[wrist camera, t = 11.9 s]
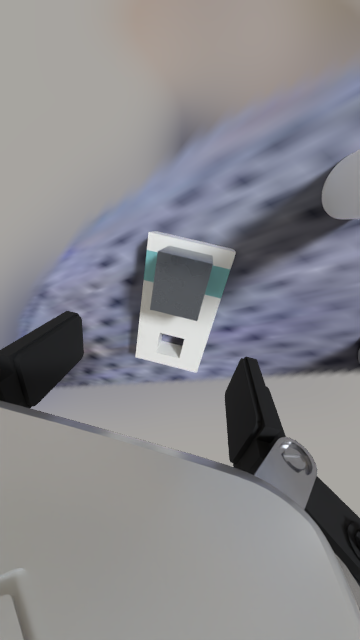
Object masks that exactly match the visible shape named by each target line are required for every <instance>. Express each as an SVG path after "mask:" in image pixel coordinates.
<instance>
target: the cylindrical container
mask: <svg viewBox="0 0 360 640" xmlns="http://www.w3.org/2000/svg"><path fill="white" fill-rule="evenodd" d="M322 205H323V208H324V210H325V211H326V213H327V214H328V215H330V216H331V217H333V218H335V219H341V220H342V219H360V150H358V151H356V152H354V153H352V154H350V155H348V156H347V157H345V158H344V159H343V160H341V161H340V162H339V163H338V164H337V165H336V166H335V167H334V168H333V170H332V171H331V172H330V174H329V176H328V177H327V179H326V181H325V184H324V186H323V190H322Z"/></svg>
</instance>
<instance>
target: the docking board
mask: <svg viewBox="0 0 360 640" xmlns="http://www.w3.org/2000/svg"><path fill="white" fill-rule="evenodd" d="M167 246H173V247H177V248H182V249H186V250H190V251H195V252H199V253H203V254H207V255H212V256H213V266H212V270H211V274H210V277H209V281H208V284H207V288H206V291H205V295H204V299H203V302H202V306H201V309H200V313H199V316H198V320H197V321H194V320H190V319H186V318H182V317H178V316H174V315H170V314H166V313H162V312H158V311H154V310H150V306H151V298H152V291H153V283H154V276H155V269H156V261H157V254H158V251H159V250H161V249H163V248H165V247H167ZM235 254H236V252H235V251H234V250H233V249H231V248H227V247H222V246H218V245H214V244H209V243H205V242H201V241H196V240H192V239H188V238H183V237H179V236H175V235H170V234H166V233H162V232H157V231H154V232H149V234H148V244H147V253H146V262H145V272H144V281H143V291H142V300H141V309H140V319H139V328H138V337H137V347H136V356H135V357H137V358H141V359H145V360H149V361H153V362H157V363H161V364H165V365H168V366H172V367H176V368H180V369H184V370H188V371H192V372H196V373H197V370H198V367H199V364H200V361H201V358H202V355H203V352H204V349H205V346H206V343H207V340H208V337H209V333H210V330H211V327H212V324H213V321H214V318H215V315H216V312H217V309H218V306H219V303H220V300H221V297H222V294H223V291H224V288H225V285H226V282H227V279H228V276H229V272H230V269H231V266H232V263H233V260H234V257H235ZM162 334H166V335H170V336H174V337H178V338H182V339H184V341H183V345H182V346H181V345H177V344H173V343H169V342H165V341H161V339H162Z"/></svg>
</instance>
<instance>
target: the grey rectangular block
mask: <svg viewBox="0 0 360 640" xmlns="http://www.w3.org/2000/svg"><path fill="white" fill-rule="evenodd" d="M212 266H213V256H212V255H207V254H203V253H199V252H195V251H190V250H186V249H182V248H177V247H173V246H167V247H165V248H163V249H161V250H159V251H158V254H157V261H156V269H155V276H154V283H153V291H152V298H151V306H150V310H154V311H158V312H162V313H166V314H170V315H174V316H178V317H182V318H186V319H190V320H194V321H197V320H198V316H199V313H200V309H201V306H202V302H203V299H204V295H205V291H206V288H207V284H208V281H209V277H210V274H211V270H212Z"/></svg>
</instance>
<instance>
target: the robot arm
mask: <svg viewBox="0 0 360 640" xmlns="http://www.w3.org/2000/svg"><path fill="white" fill-rule="evenodd" d="M83 354H84V350H83V334H82V319H81V317H79V314H77V313H74V312H70V311H66V312H64V313H62V314H61V315H59V316H57V317H56V318H54V319H52V320H51V321H49V322H47V323H45V324H44V325H42V326H40V327H39V328H37V329H35V330H34V331H32V332H30V333H28V334H27V335H25V336H23V337H22V338H20V339H18V340H17V341H15V342H13V343H11V344H10V345H8V346H7V347H5V348H3V349H2V350H0V640H360V518H359V517H358V516H357V515H356V514H355V513H354V512H353V511H352V510H351V509H350V508H349V507H348V506H347V505H346V504H345V503H344V502H343V501H342V500H340V498H339V497H338V496H337V495H336V494H335V493H334V492H333V491H332V490H331V489H330V488H329V487H327V486H326V485H325V484H324V483H323V482H322V481H321V480H320V479H319V478H318V477H317V468H316V463H315V462H314V459H313V457H312V456H311V455H310V453H309V452H308V451H307V450H306V449H305V448H304V447H303V446H302V445H301V444H300V443H298V442H297V441H296V440H293V439H291V438H288V437H286V436H285V433H284V430H283V428H282V425H281V422H280V419H279V416H278V413H277V410H276V408H275V405H274V402H273V399H272V397H271V393H270V391H269V389H268V388H267V387H266V386H265V383H264V380H263V377H262V374H261V371H260V368H259V365H258V362H257V360H256V359H253V358H249V357H245V358H244V359H243V358H241V359H240V361H239V364H238V366H237V368H236V370H235V372H234V374H233V377H232V379H231V381H230V383H229V385H228V388H227V390H226V392H225V406H226V418H227V433H228V446H229V458H230V462H232V463H233V466H234V467H230V466H228V465H225V464H222V463H218V462H215V461H212V460H209V459H205V458H202V457H199V456H196V455H192V454H189V453H186V452H182V451H179V450H175V449H172V448H168V447H164V446H161V445H158V444H154V443H151V442H147V441H144V440H141V439H137V438H133V437H130V436H126V435H123V434H119V433H116V432H112V431H109V430H105V429H102V428H98V427H95V426H91V425H88V424H84V423H80V422H77V421H73V420H70V419H66V418H62V417H59V416H55V415H52V414H48V413H44V412H41V411H37V410H33V409H30V408H31V407H32V406H35V405H37V404H38V403H39V402H40V401H41V400H42V399H43V398H44V397H45V396H46V395H47V394H48V392H50V390H52V389H53V388H54V387H55V385H56V384H57V383H58V382H59V381H60V380H61V379H62V378H63V377H64V376H65V375H66V374H67V373H68V372H69V371H70V370H71V369H72V368H73V367H74V366H75V365H76V364H77V363H78V362H79V361H80V360H81V359H82V357H83ZM358 360H359V363H360V349H359V352H358Z"/></svg>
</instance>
